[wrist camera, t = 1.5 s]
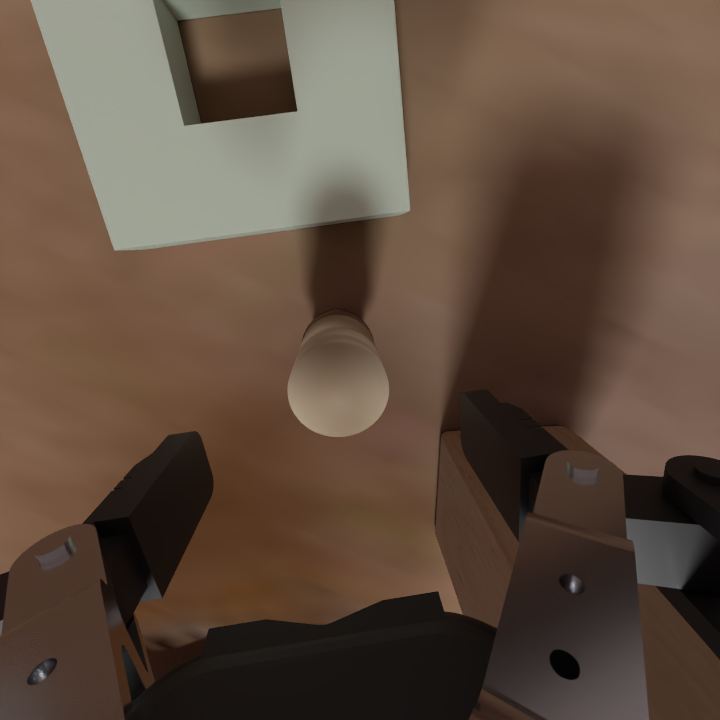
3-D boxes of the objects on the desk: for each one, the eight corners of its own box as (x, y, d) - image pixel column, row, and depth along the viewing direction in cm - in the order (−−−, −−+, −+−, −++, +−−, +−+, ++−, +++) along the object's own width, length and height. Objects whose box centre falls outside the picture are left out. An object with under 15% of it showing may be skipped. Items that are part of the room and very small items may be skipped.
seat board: (370, -142, 17) (377, -220, 14) (400, 214, 22) (410, 210, 19) (34, -104, 17) (-29, -176, 14) (143, 249, 22) (114, 250, 19)
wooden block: (433, 533, 30) (599, 1027, 11) (439, 429, 27) (685, 867, 8) (546, 525, 31) (890, 984, 12) (565, 422, 27) (1077, 819, 9)
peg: (364, 298, 23) (384, 335, 14) (372, 359, 25) (394, 430, 15) (300, 307, 23) (276, 350, 14) (312, 367, 25) (296, 444, 15)
